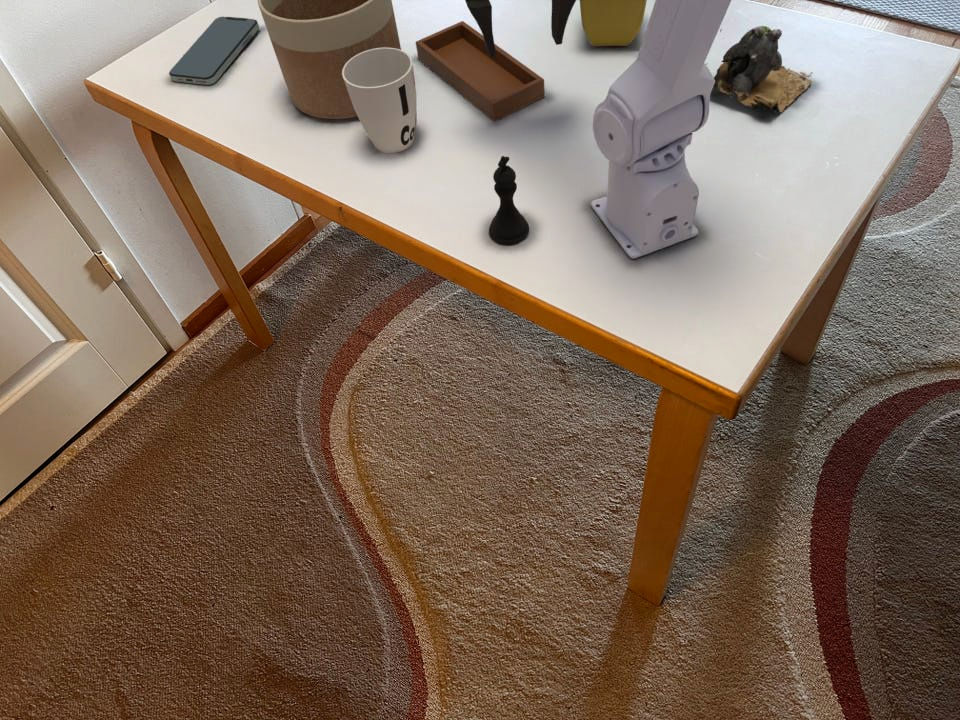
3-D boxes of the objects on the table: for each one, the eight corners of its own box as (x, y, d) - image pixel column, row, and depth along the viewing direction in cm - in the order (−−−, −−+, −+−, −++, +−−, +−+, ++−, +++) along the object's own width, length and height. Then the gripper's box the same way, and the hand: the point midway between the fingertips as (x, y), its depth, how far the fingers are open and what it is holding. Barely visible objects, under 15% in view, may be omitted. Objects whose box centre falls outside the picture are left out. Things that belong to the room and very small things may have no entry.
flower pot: (581, 20, 102) (582, -46, 95) (643, 19, 101) (649, -48, 93) (577, 55, 97) (578, -12, 90) (643, 54, 96) (649, -14, 88)
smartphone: (164, 73, 102) (216, 14, 109) (170, 84, 103) (221, 25, 111) (210, 78, 100) (259, 18, 107) (215, 89, 101) (263, 28, 109)
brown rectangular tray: (544, 97, 92) (544, 79, 90) (494, 122, 90) (493, 104, 88) (464, 38, 102) (462, 20, 100) (418, 59, 100) (415, 41, 98)
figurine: (813, 84, 88) (841, 18, 79) (765, 135, 86) (788, 73, 77) (744, 48, 92) (763, -20, 83) (696, 96, 90) (711, 32, 81)
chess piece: (537, 227, 78) (534, 152, 70) (512, 251, 76) (506, 177, 68) (506, 211, 80) (499, 136, 72) (480, 234, 78) (471, 160, 70)
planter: (418, 55, 101) (400, -47, 90) (390, 125, 92) (367, 21, 80) (312, 54, 103) (282, -45, 92) (275, 122, 94) (237, 21, 83)
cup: (416, 162, 87) (401, 89, 79) (353, 159, 88) (332, 86, 80) (432, 121, 91) (420, 48, 83) (372, 119, 93) (354, 46, 85)
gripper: (578, -114, 73) (576, 16, 84) (438, -87, 72) (455, 40, 83) (598, -85, 69) (593, 48, 80) (449, -57, 68) (466, 73, 79)
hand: (524, 46), depth 81 cm, fingers open, 7 cm apart
